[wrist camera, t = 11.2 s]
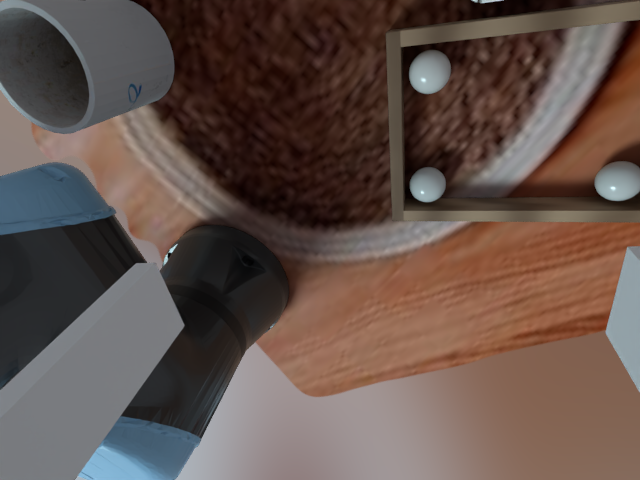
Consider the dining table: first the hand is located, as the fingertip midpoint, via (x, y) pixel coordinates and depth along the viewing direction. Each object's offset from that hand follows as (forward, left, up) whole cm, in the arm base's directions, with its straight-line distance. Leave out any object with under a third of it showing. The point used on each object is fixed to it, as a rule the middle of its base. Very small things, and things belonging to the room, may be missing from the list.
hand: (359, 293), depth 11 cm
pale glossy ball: (+2, -7, -25) cm, 25 cm away
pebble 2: (+16, -7, -25) cm, 30 cm away
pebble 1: (+2, +2, -25) cm, 25 cm away
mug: (-26, +6, -25) cm, 37 cm away
